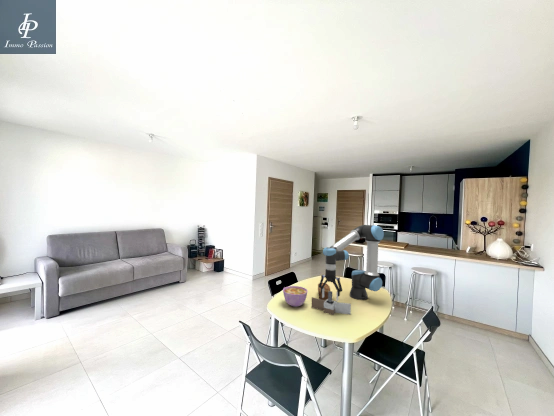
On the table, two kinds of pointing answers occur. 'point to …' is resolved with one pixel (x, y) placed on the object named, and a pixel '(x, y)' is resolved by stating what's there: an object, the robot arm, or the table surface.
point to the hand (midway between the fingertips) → (330, 298)
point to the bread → (326, 289)
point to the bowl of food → (295, 295)
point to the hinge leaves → (331, 306)
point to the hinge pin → (330, 297)
